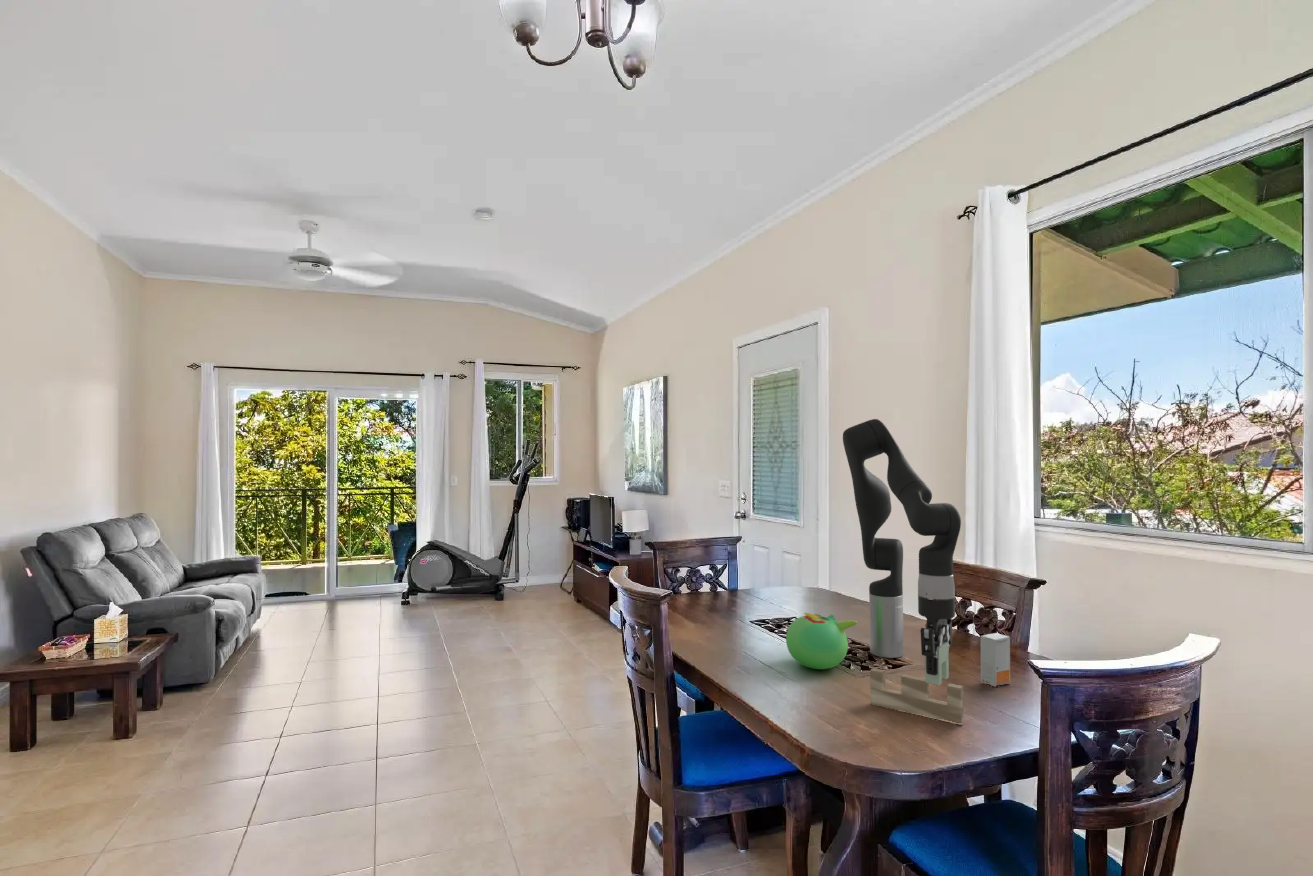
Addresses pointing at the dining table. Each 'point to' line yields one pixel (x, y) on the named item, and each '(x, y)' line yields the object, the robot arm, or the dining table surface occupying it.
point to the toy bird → (818, 640)
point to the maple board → (917, 697)
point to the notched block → (939, 666)
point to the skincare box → (995, 658)
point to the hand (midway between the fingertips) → (937, 670)
